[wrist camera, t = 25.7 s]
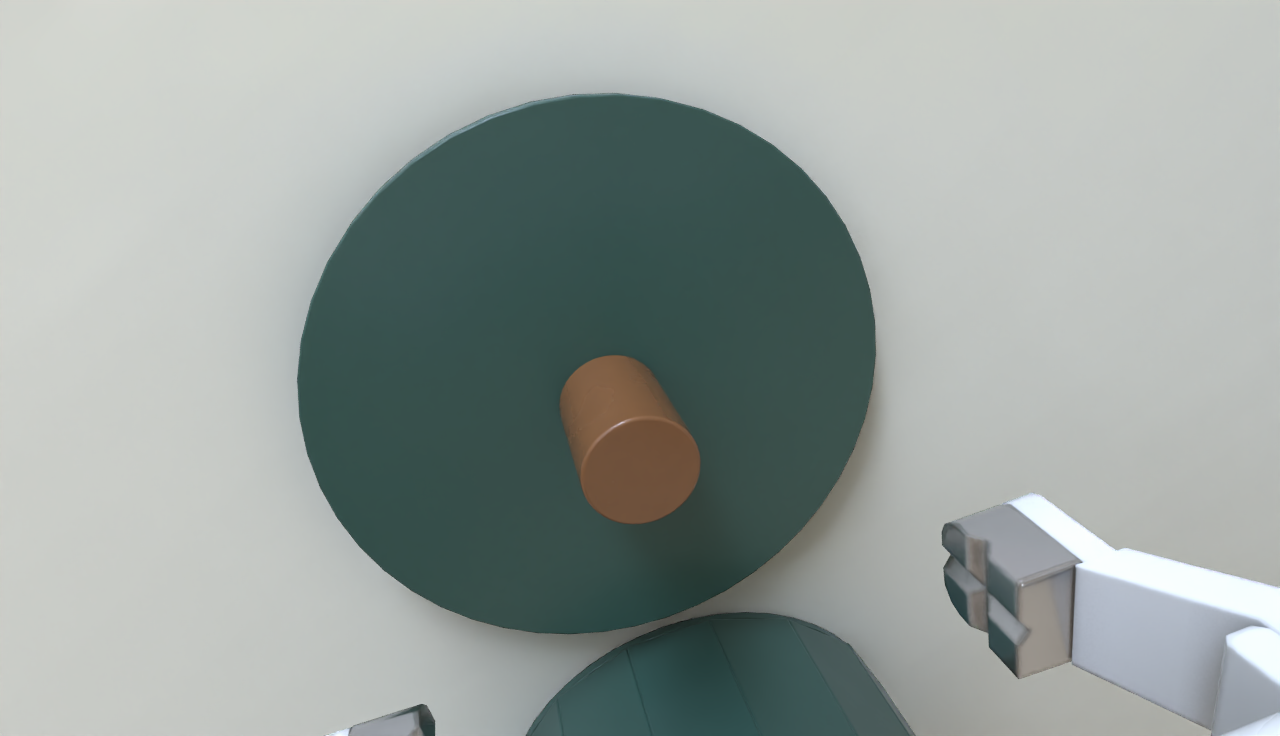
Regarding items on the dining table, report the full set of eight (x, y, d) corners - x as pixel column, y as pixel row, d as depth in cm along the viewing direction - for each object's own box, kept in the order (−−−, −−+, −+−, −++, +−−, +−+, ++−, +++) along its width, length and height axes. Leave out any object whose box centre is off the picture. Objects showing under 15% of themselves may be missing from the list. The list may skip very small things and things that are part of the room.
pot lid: (826, 26, 18) (944, 18, 14) (874, 519, 24) (967, 621, 20) (197, 181, 16) (105, 228, 12) (421, 670, 22) (413, 817, 18)
